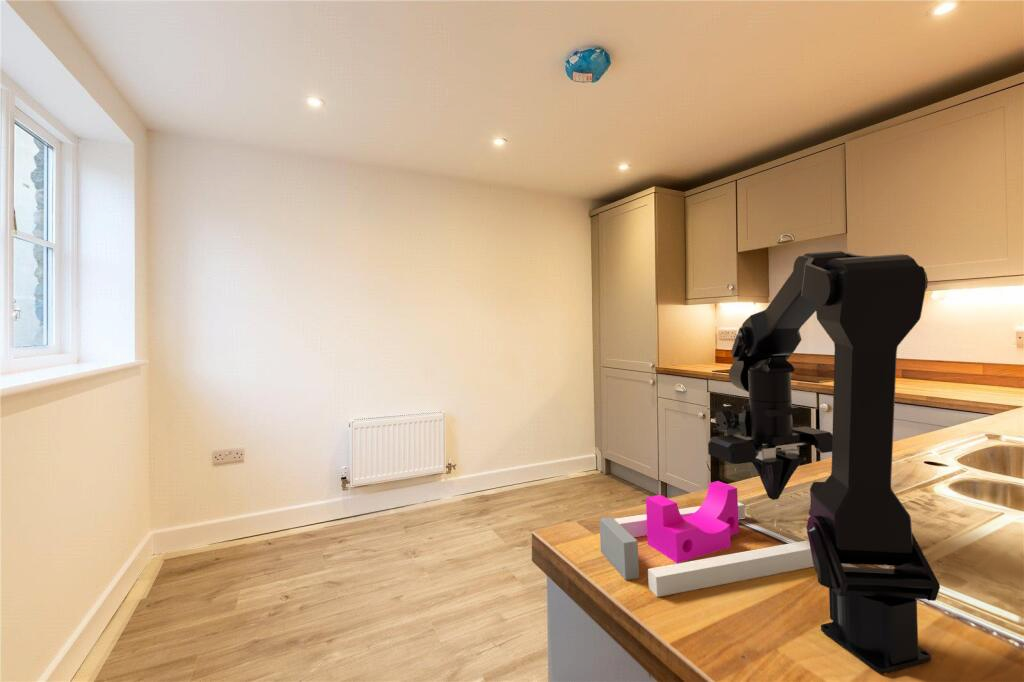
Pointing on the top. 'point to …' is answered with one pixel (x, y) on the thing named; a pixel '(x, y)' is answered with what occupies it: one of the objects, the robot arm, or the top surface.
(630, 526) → the chute
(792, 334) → the robot arm
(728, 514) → the toy block
